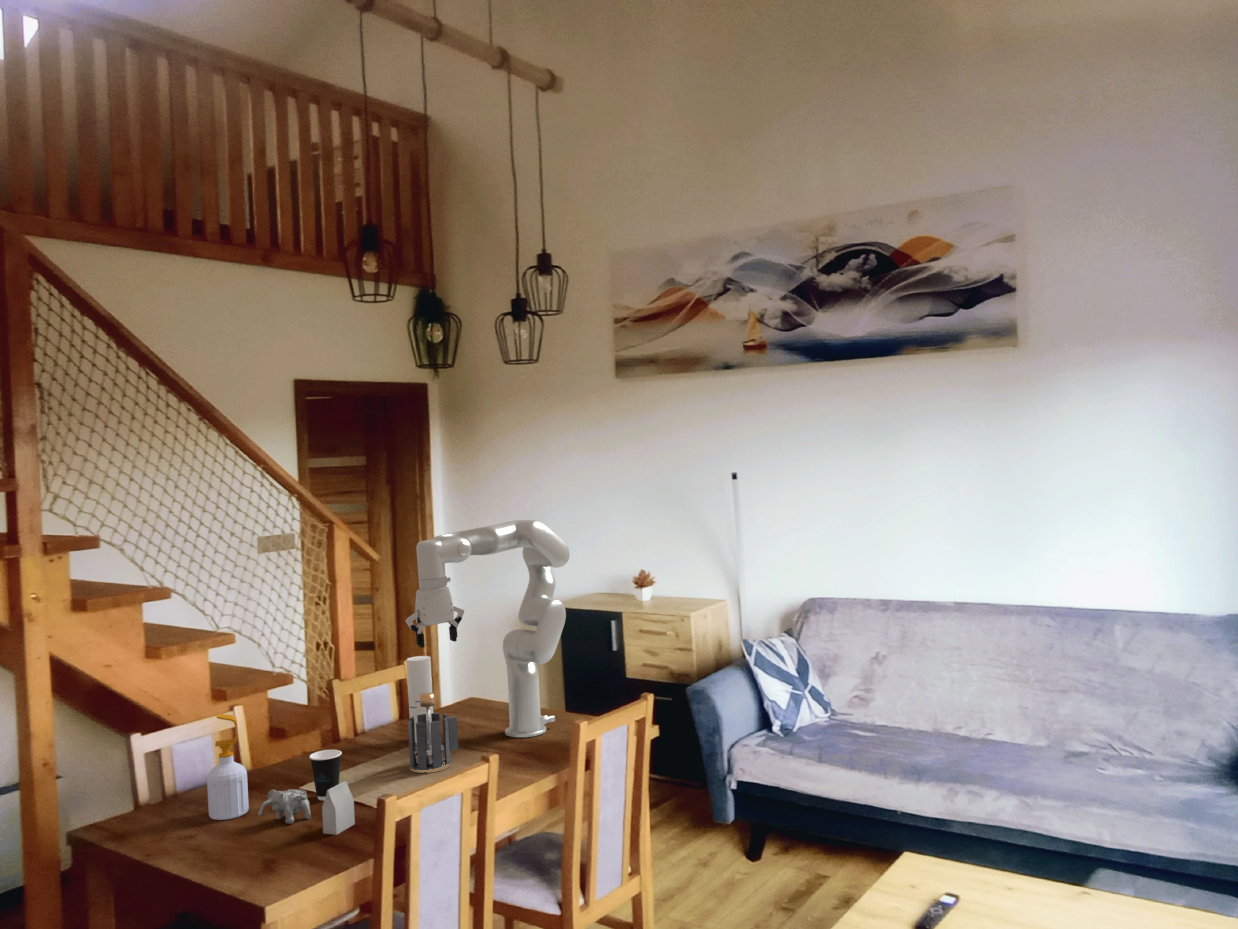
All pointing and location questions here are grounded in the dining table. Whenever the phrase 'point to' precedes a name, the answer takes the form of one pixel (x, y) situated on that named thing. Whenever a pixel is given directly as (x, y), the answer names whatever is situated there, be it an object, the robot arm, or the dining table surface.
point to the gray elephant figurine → (287, 803)
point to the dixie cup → (325, 770)
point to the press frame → (432, 741)
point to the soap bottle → (227, 782)
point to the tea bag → (338, 809)
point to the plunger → (428, 719)
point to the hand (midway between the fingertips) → (437, 643)
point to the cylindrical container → (418, 685)
